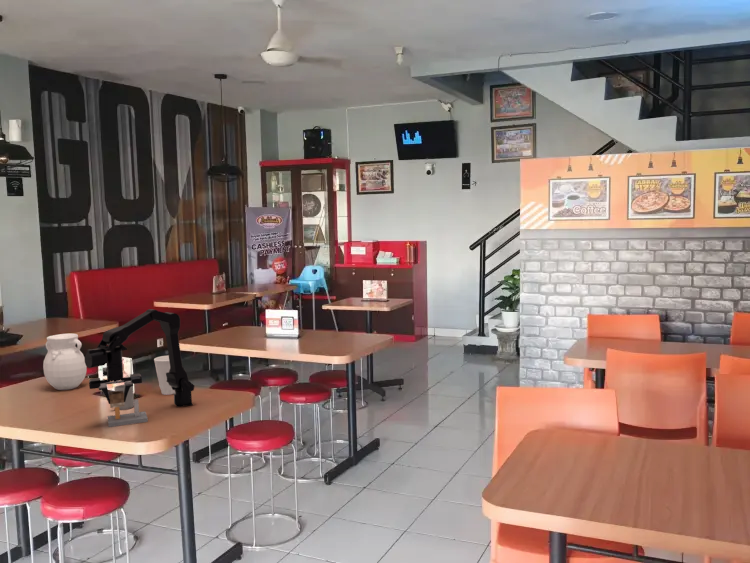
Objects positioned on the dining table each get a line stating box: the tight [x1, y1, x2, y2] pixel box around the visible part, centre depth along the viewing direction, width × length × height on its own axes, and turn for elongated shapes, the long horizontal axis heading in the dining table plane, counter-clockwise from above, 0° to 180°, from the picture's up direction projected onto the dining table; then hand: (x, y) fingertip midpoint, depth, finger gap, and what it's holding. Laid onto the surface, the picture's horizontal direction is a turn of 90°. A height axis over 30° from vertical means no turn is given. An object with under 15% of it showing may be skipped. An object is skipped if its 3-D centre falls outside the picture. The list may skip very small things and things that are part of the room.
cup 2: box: [153, 355, 175, 396], centre depth 295 cm, size 12×12×16 cm
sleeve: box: [108, 390, 124, 409], centre depth 252 cm, size 5×5×5 cm
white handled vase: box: [42, 332, 88, 391], centre depth 309 cm, size 19×18×25 cm
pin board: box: [107, 398, 149, 428], centre depth 254 cm, size 14×10×8 cm
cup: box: [114, 384, 135, 411], centre depth 272 cm, size 7×10×9 cm
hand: (117, 402), depth 252 cm, fingers closed on sleeve, 5 cm apart
